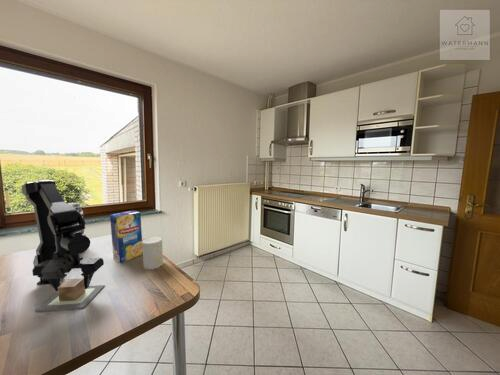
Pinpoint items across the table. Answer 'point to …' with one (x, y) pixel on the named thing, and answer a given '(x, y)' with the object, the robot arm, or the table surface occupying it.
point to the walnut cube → (71, 289)
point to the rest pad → (76, 304)
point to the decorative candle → (79, 208)
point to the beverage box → (126, 235)
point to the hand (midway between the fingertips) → (72, 289)
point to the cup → (152, 252)
